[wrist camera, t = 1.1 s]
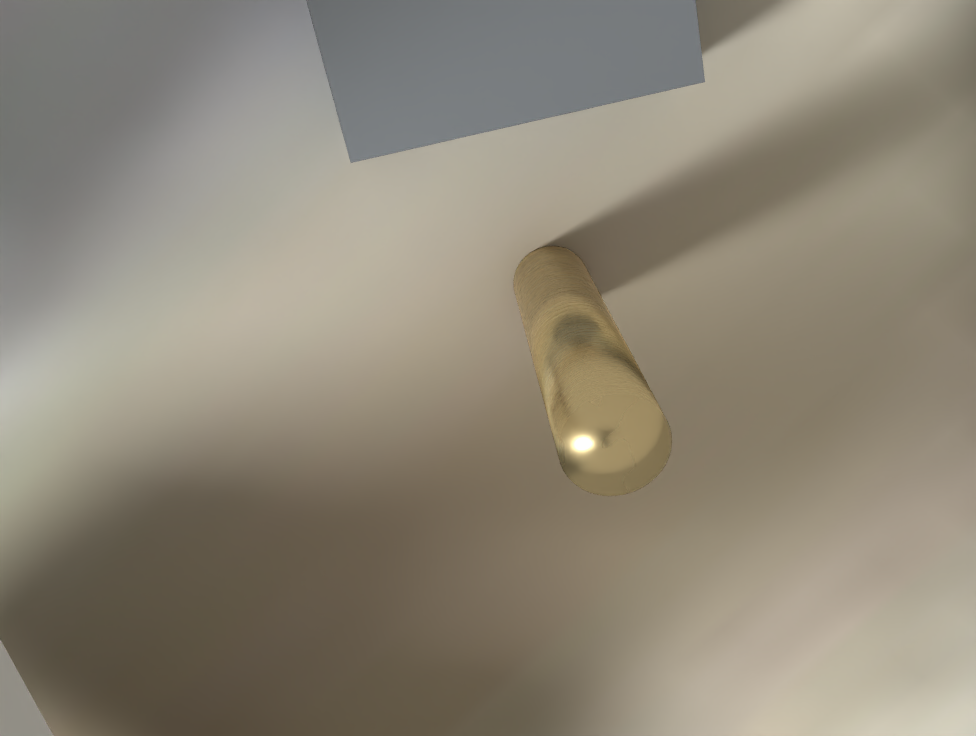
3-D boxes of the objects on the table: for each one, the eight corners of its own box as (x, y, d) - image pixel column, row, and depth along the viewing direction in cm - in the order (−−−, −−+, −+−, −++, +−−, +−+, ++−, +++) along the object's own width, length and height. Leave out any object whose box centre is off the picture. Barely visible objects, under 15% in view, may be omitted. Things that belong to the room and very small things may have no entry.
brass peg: (593, 308, 38) (678, 482, 25) (521, 324, 38) (569, 506, 25) (581, 238, 36) (663, 383, 23) (506, 255, 36) (548, 408, 24)
